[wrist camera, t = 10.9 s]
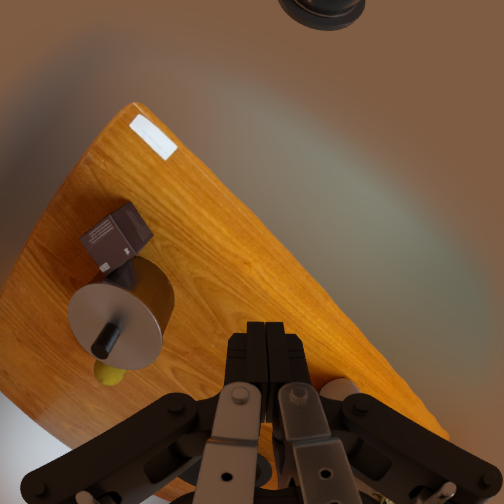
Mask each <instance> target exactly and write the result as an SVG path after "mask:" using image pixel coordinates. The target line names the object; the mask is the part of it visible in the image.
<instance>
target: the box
mask: <svg viewBox="0 0 504 504" xmlns="http://www.w3.org/2000/svg"><path fill="white" fill-rule="evenodd" d="M152 237H153V234H152V232H151V231H150V229H149V228H148V226H147V225H146V224H145V222H144V221H143V219H142V218H141V216H140V215H139V213H138V212H137V210H136V209H135V207H134V206H133V204H132V202H131V201H130V202H128V203H127V204H125V205H124V206H122V207H121V208H119V209H118V210H116V211H114V212H113V213H111V214H110V215H108V216H106V217H105V218H104V219H102V220H101V221H100V222H98V223H97V224H96V225H95V226H93V227H92V228H91V229H90V230H89V231H87V232H86V233H85V234H84V235H83V236H81V237H80V241H81V243H82V244H83V245H84V247H85V248H86V250H87V251H88V253H89V254H90V256H91V257H92V258H93V260H94V261H95V263H96V264H97V266H98V267H99V268H100V270H101V271H102V272H103V274H104V275H107V274H109V273H110V272H112V271H113V270H115V269H116V268H118V267H120V266H121V265H122V264H124V263H125V262H127V261H128V260H130V259H131V258H133V257H134V256H136V255H137V254H138V252H139V251H140V250H141V249H142V248H143V247H144V246H145V245H146V244H147V242H148V241H149V240H150V239H151V238H152Z"/></svg>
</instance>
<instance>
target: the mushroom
mask: <svg viewBox="0 0 504 504" xmlns="http://www.w3.org/2000/svg"><path fill="white" fill-rule="evenodd" d="M354 479H355V482H356V485H357V488H358V489H359V490H360V491H362V492H364V493H366V494H368V495H370V496H371V497H373V498H374V499H375V500H377V501H378V502H380V503H381V504H392V503H393V502H392V501H390V500H389V499H387V498H384V497H383V495H381V494H380V493H378V492H377V491H375V490H374V489H372V488H371V487H369V486H368V485H366V484H365V483H363V482H362V481H360V480H359V479H357V478H356V477H355V476H354Z"/></svg>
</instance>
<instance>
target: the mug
mask: <svg viewBox="0 0 504 504" xmlns="http://www.w3.org/2000/svg"><path fill="white" fill-rule="evenodd" d="M354 393H361V392H360V390H359V388H358V387H357V386H356V385H355V384H354V383H353V382H352V381H350V380H349V379H346V378H339V379H335V380H332V381H330V382H329V383H327V384H326V385H325V386H324V387H322V389H321V391H320V395H321V396H323V397H326V398H329V399H334V400H340V401H343V400H344V399H345V398H346V397H347V396H349V395H351V394H354Z"/></svg>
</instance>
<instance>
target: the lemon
mask: <svg viewBox="0 0 504 504" xmlns="http://www.w3.org/2000/svg"><path fill="white" fill-rule="evenodd" d="M125 371H126V370H124V369H118V368H115V367H111V366H109V365H107V364H104V363H103V362H101V361H99V360H96V362H95V365H94V374H95V377H96V379H97V380H98V381H99V382H100V383H102V384H103V385H106V386H113V385H115V384H117V383H118V382H119V381H120V380H121V379H122V378H123V376H124V374H125Z"/></svg>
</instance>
